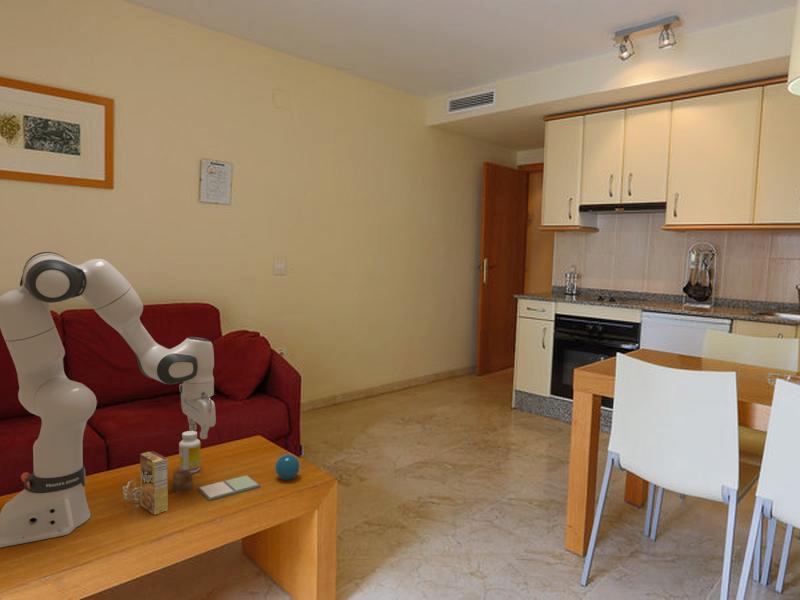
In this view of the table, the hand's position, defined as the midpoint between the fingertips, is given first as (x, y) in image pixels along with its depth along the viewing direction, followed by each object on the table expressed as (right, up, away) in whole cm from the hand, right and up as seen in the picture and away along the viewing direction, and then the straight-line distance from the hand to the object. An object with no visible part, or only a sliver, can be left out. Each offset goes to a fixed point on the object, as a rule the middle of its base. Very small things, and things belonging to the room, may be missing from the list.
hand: (198, 434), depth 164 cm
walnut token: (-5, -17, +1) cm, 18 cm away
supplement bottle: (-8, -16, +15) cm, 24 cm away
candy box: (-8, -18, -12) cm, 23 cm away
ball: (+25, -18, +11) cm, 33 cm away
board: (+9, -18, +2) cm, 20 cm away
